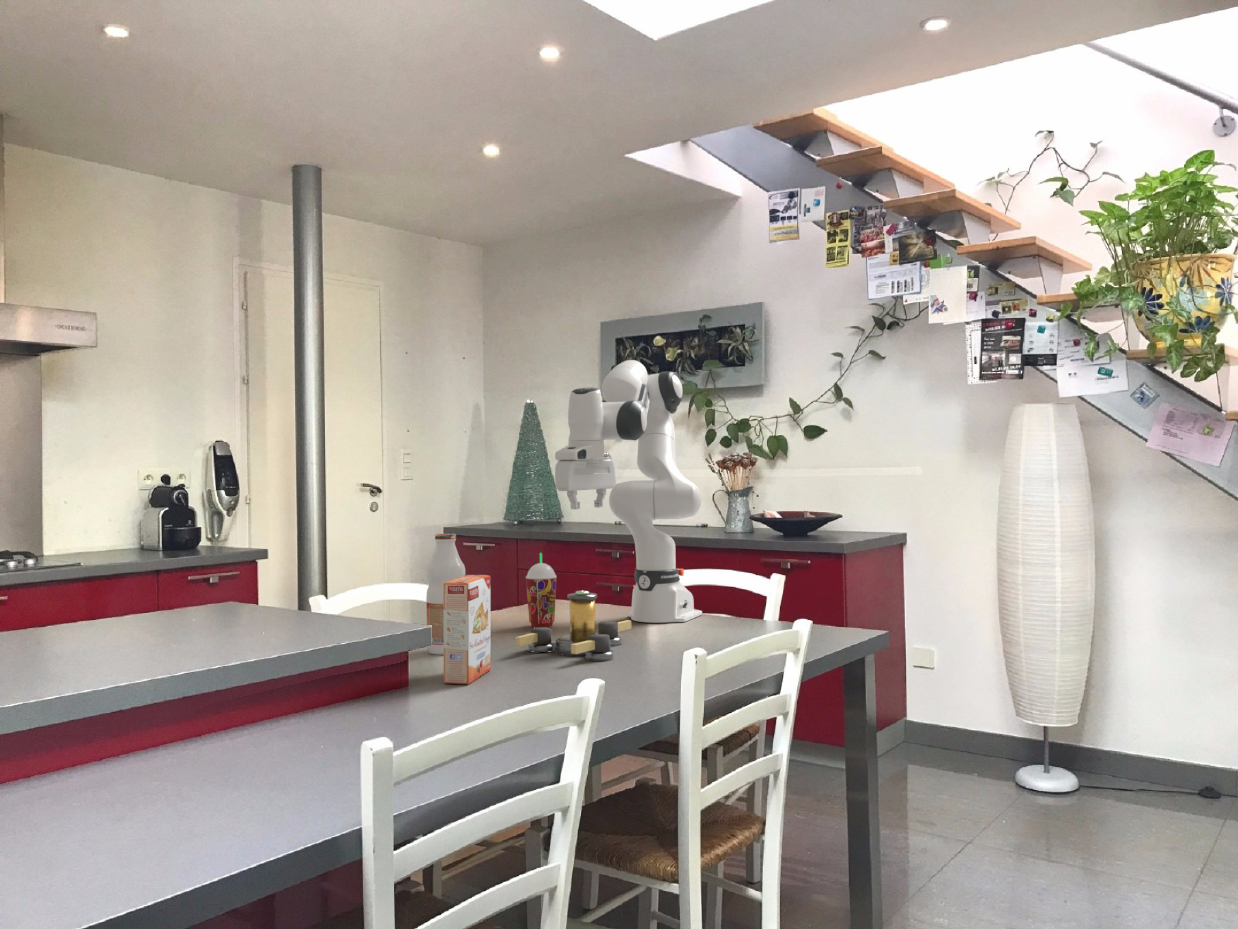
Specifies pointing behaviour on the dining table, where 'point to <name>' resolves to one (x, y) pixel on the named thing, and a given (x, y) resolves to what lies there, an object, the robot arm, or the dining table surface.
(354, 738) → the dining table surface
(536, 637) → the knob
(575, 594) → the tribrach
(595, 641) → the knob
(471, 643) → the cracker box
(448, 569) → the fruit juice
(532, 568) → the smoothie
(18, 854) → the dining table surface
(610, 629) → the lever knob
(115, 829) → the dining table surface
